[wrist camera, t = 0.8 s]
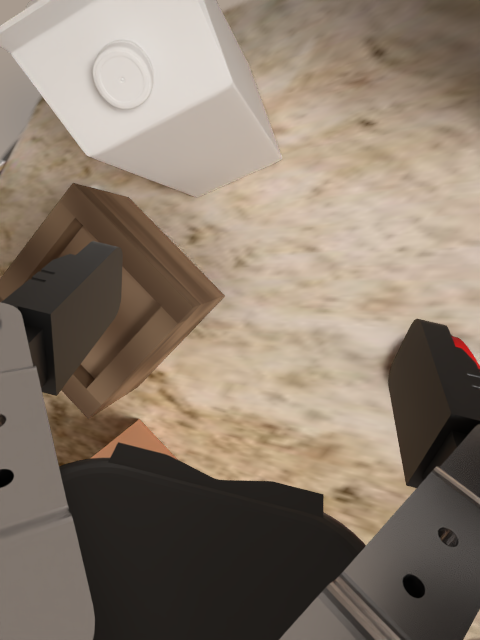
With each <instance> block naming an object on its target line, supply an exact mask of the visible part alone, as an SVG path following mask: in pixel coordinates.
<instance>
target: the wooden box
mask: <svg viewBox="0 0 480 640" xmlns="http://www.w3.org/2000/svg"><path fill="white" fill-rule="evenodd" d="M92 241H95V242H100V243H104V244H108V245H112V246H117V247H120V248H121V250H122V254H123V262H122V293H121V303H120V307H119V310H118V313H117V315H116V317H115V319H114V320H113V321H112V323H111V324H110V325H109V327H108V328H107V329H106V331H105V332H104V333H103V335H102V336H101V337H100V339H99V340H98V341H97V343H96V344H95V345H94V347H93V348H92V349H91V351H90V352H89V353H88V355H87V356H86V357H85V359H84V360H83V361H82V363H81V364H80V365H79V367H78V368H77V369H76V371H75V372H74V373H73V375H72V376H71V377H70V379H69V380H68V381H67V383H66V384H65V385H64V387H63V388H62V389H61V390H62V391H63V392H64V393H65V394H66V396H67V397H68V398H69V399H70V400H71V401H72V402H73V403H74V404H75V405H76V406H77V407H78V408H79V409H80V411H81V412H82V413H83V414H84V415H85V416H86V417H87V418H88V419H89V418H90V417H92V416H94V415H95V414H97V413H98V412H100V411H101V410H103V409H104V408H106V407H108V406H109V405H111V404H112V403H114V402H115V401H117V400H118V399H120V398H121V397H123V396H125V395H126V394H128V393H129V392H131V391H132V390H134V389H135V388H137V387H138V386H139V385H140V384H141V383H142V382H143V381H144V380H145V379H146V378H147V377H148V376H149V375H150V374H151V373H152V372H153V371H154V370H155V368H156V367H157V366H158V365H159V364H160V363H161V362H162V361H163V360H164V359H165V358H166V357H167V356H168V355H169V354H170V353H171V352H172V351H173V350H174V349H175V348H176V347H177V346H178V345H179V343H180V342H181V341H182V340H183V339H184V338H185V337H186V336H187V335H188V334H189V333H190V332H191V331H192V330H193V329H194V328H195V327H196V326H197V325H198V324H199V323H200V322H201V321H202V319H203V318H204V317H205V316H206V315H207V314H208V313H209V312H210V311H211V310H212V309H213V308H214V307H215V306H216V305H217V304H218V303H219V302H220V301H221V300H222V299H223V298H224V297H225V296H224V294H223V293H222V292H221V291H220V290H219V289H218V288H217V287H216V286H215V285H214V284H213V283H212V282H211V281H210V280H209V279H208V278H207V277H206V276H205V275H204V274H203V273H202V272H201V271H200V270H199V269H198V268H197V267H196V266H195V265H194V264H193V263H192V262H191V261H190V260H189V259H188V258H187V257H186V256H185V255H184V254H183V253H182V252H181V251H180V250H179V248H178V247H177V246H176V245H175V244H174V243H173V242H172V241H171V240H170V239H169V238H168V237H167V236H166V235H165V234H164V233H163V232H162V231H161V230H160V229H159V228H158V227H157V226H156V225H155V224H154V223H153V222H152V221H151V220H150V219H149V218H148V217H147V216H146V215H145V214H144V213H143V212H142V211H141V210H140V209H139V208H138V207H137V206H136V205H135V204H134V202H133V201H132V200H131V199H130V198H129V197H125V196H121V195H117V194H113V193H109V192H106V191H102V190H98V189H94V188H90V187H86V186H82V185H79V184H75V183H73V184H72V185H71V186H70V188H69V189H68V190H67V192H66V193H65V194H64V196H63V197H62V198H61V199H60V201H59V202H58V203H57V205H56V206H55V207H54V209H53V210H52V211H51V213H50V214H49V215H48V217H47V218H46V219H45V221H44V222H43V223H42V225H41V226H40V227H39V228H38V230H37V231H36V232H35V234H34V235H33V236H32V238H31V239H30V240H29V242H28V243H27V244H26V246H25V247H24V248H23V250H22V251H21V252H20V254H19V255H18V256H17V258H16V259H15V260H14V261H13V263H12V264H11V265H10V267H9V268H8V269H7V271H6V272H5V273H4V275H3V276H2V277H1V279H0V302H2V301H3V300H4V299H6V298H7V297H8V296H9V295H11V294H12V293H13V292H14V291H15V290H17V289H18V288H19V287H20V286H22V285H23V284H24V283H25V282H26V281H28V280H29V279H32V277H33V276H34V275H35V274H36V273H37V272H39V271H40V272H41V269H42V268H44V267H45V266H46V265H47V264H48V263H50V262H51V261H52V260H54V259H57V258H60V257H62V256H65V255H68V254H73V255H76V254H78V253H79V252H80V251H81V250H82V249H83V248H84V247H86V246H87V245H88V244H89V243H90V242H92Z"/></svg>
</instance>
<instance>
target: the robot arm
mask: <svg viewBox="0 0 480 640" xmlns="http://www.w3.org/2000/svg"><path fill="white" fill-rule="evenodd" d="M122 262H123V254H122V250H121V248H120V247H117V246H112V245H108V244H104V243H100V242H95V241H92V242H90V243H89V244H88V245H87V246H86V247H84V248H83V249H82V250H81V251H80V252H79V253H78V254H76V255H73V254H68V255H65V256H62V257H60V258H57V259H54V260H52V261H51V262H50V263H48V264H47V265H46V266H45V267H44V268H42V269H41V272H40V271H39V272H37V273H36V274H35V275H34V276H33V277H32V279H29V280H28V281H26V282H25V283H24V284H23V285H22V286H20V287H19V288H18V289H17V290H15V291H14V292H13V293H12V294H11V295H9V296H8V297H7V298H6V299H4V300H3V301H2V302H0V640H463V639H464V637H465V635H466V633H467V631H468V630H469V628H470V626H471V624H472V622H473V620H474V618H475V616H476V615H477V613H478V611H479V609H480V371H479V369H478V367H477V364H476V362H475V361H474V360H473V359H472V358H471V357H470V356H469V355H468V354H467V353H466V352H465V351H464V350H463V349H462V348H458V347H456V346H455V344H454V341H453V339H452V336H451V334H450V332H449V329H448V327H447V326H445V325H442V324H438V323H433V322H429V321H425V320H421V319H416V320H414V322H413V323H412V324H411V326H410V328H409V330H408V332H407V334H406V336H405V338H404V341H403V343H402V345H401V347H400V349H399V351H398V353H397V355H396V357H395V359H394V361H393V364H392V366H391V369H390V373H389V381H388V385H389V391H390V397H391V403H392V408H393V414H394V419H395V425H396V431H397V436H398V442H399V447H400V453H401V459H402V464H403V470H404V475H405V481H406V485H407V486H411V487H415V488H417V489H416V490H415V491H414V492H413V493H412V494H411V496H410V497H409V498H408V499H407V500H406V501H405V502H404V503H403V505H402V506H401V507H400V508H399V509H398V510H397V511H396V512H395V514H394V515H393V516H392V517H391V518H390V519H389V520H388V522H387V523H386V524H385V525H384V526H383V527H382V528H381V529H380V531H379V532H378V533H377V534H376V535H375V536H374V537H373V538H372V540H371V541H370V542H369V543H368V544H367V545H365V544H364V543H363V542H362V541H361V540H360V539H359V538H358V537H357V536H356V535H355V534H354V533H353V532H352V531H351V530H349V529H348V528H347V527H345V526H344V525H343V524H342V523H340V522H339V521H337V520H336V519H334V518H333V517H331V516H329V515H327V514H326V513H324V512H323V494H319V493H315V492H311V491H307V490H303V489H300V488H296V487H292V486H288V485H284V484H280V483H276V482H271V481H232V480H218V479H214V478H212V477H210V476H208V475H206V474H204V473H202V472H200V471H198V470H196V469H194V468H192V467H190V466H189V465H187V464H185V463H183V462H181V461H179V460H177V459H175V458H173V457H171V456H169V455H166V454H163V453H159V452H155V451H151V450H147V449H143V448H139V447H135V446H131V445H127V444H123V443H119V442H118V444H117V445H116V447H115V449H114V451H113V453H112V455H111V457H110V458H91V459H85V460H79V461H75V462H72V463H68V464H65V465H62V466H59V465H58V461H57V456H56V452H55V447H54V443H53V439H52V434H51V430H50V425H49V421H48V417H47V412H46V408H45V403H44V399H43V395H42V392H44V393H48V394H52V395H56V396H57V395H58V393H59V392H60V391H61V389H62V388H63V387H64V385H65V384H66V383H67V381H68V380H69V379H70V377H71V376H72V375H73V373H74V372H75V371H76V369H77V368H78V367H79V365H80V364H81V363H82V361H83V360H84V359H85V357H86V356H87V355H88V353H89V352H90V351H91V349H92V348H93V347H94V345H95V344H96V343H97V341H98V340H99V339H100V337H101V336H102V335H103V333H104V332H105V331H106V329H107V328H108V327H109V325H110V324H111V323H112V321H113V320H114V319H115V317H116V315H117V313H118V310H119V307H120V303H121V293H122Z"/></svg>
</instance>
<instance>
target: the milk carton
mask: <svg viewBox="0 0 480 640" xmlns="http://www.w3.org/2000/svg"><path fill="white" fill-rule="evenodd" d="M0 47H1V48H3V49H5V50H6V51H8V52H10V54H11V55H12V56H13V58H14V59H15V60H16V62H17V63H18V64H19V66H20V67H21V69H22V70H23V71H24V72H25V74H26V75H27V76H28V78H29V79H30V81H31V82H32V83H33V85H34V86H35V87H36V89H37V90H38V91H39V93H40V94H41V95H42V97H43V98H44V99H45V101H46V102H47V103H48V105H49V106H50V107H51V109H52V110H53V111H54V113H55V114H56V115H57V117H58V118H59V119H60V121H61V122H62V123H63V125H64V126H65V127H66V129H67V130H68V131H69V133H70V134H71V136H72V137H73V138H74V140H75V141H76V142H77V144H78V145H79V146H80V148H81V149H82V150H83V152H84V153H85V154H86V155H87V156H89V157H91V158H94V159H96V160H99V161H101V162H104V163H107V164H109V165H112V166H114V167H117V168H120V169H122V170H125V171H128V172H130V173H133V174H136V175H138V176H141V177H144V178H146V179H149V180H151V181H154V182H157V183H159V184H162V185H165V186H167V187H170V188H173V189H175V190H178V191H181V192H183V193H186V194H189V195H191V196H194V197H200V196H202V195H205V194H207V193H209V192H211V191H214V190H216V189H218V188H220V187H223V186H225V185H227V184H229V183H232V182H234V181H236V180H238V179H241V178H243V177H245V176H247V175H249V174H252V173H254V172H256V171H258V170H261V169H263V168H265V167H267V166H270V165H272V164H274V163H276V162H278V161H280V160H281V159H282V156H281V153H280V150H279V147H278V144H277V142H276V139H275V136H274V133H273V130H272V128H271V125H270V122H269V119H268V117H267V114H266V111H265V108H264V105H263V103H262V100H261V97H260V94H259V91H258V89H257V86H256V83H255V80H254V78H253V75H252V72H251V69H250V66H249V64H248V62H247V60H246V58H245V56H244V54H243V52H242V50H241V48H240V46H239V44H238V42H237V40H236V38H235V36H234V34H233V32H232V30H231V28H230V26H229V24H228V22H227V20H226V18H225V16H224V14H223V12H222V11H221V9H220V7H219V5H218V3H217V1H216V0H31V1H30V2H29V3H28V4H27V7H26V9H25V10H24V11H22V12H21V13H19V14H17V15H16V16H14V17H13V18H11V19H10V20H8V21H7V22H5V23H4V24H2V25H1V26H0Z"/></svg>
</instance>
